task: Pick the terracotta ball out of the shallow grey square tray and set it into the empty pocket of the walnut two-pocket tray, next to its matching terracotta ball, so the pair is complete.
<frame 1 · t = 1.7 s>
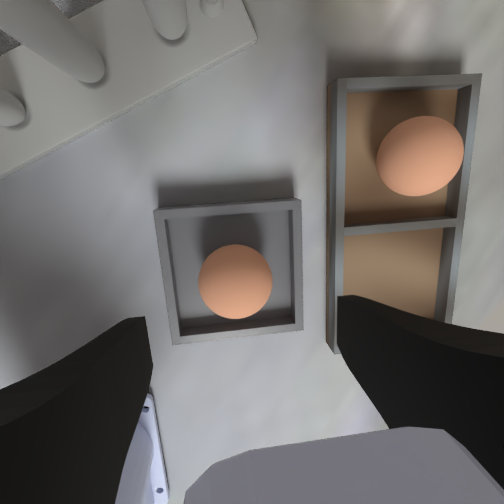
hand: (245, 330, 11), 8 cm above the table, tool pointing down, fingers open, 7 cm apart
pair tray: (387, 223, 19), on the table
shallow grey square tray: (233, 267, 19), on the table
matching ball: (395, 159, 18), resting on pair tray
test tube rack: (24, 114, 16), on the table
terracotta ball: (233, 269, 18), resting on shallow grey square tray
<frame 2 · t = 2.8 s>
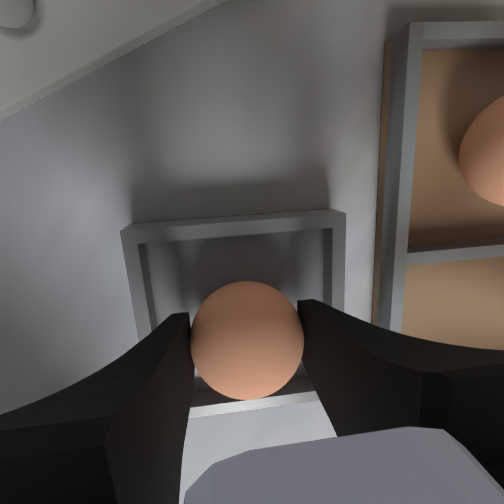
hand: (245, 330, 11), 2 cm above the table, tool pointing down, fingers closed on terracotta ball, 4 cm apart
pair tray: (459, 243, 14), on the table
shallow grey square tray: (241, 307, 13), on the table
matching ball: (480, 152, 12), resting on pair tray
terracotta ball: (242, 312, 13), resting on shallow grey square tray, touching gripper
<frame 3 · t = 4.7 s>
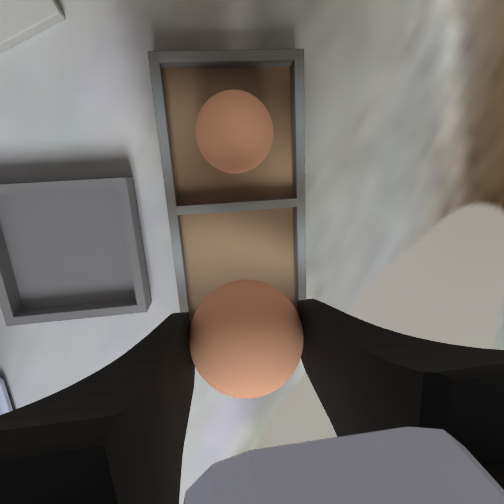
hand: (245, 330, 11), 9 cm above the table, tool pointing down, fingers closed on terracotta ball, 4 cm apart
pair tray: (236, 204, 19), on the table
shallow grey square tray: (75, 248, 19), on the table
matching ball: (232, 137, 18), resting on pair tray
terracotta ball: (241, 311, 13), point 8 cm above the table, touching gripper
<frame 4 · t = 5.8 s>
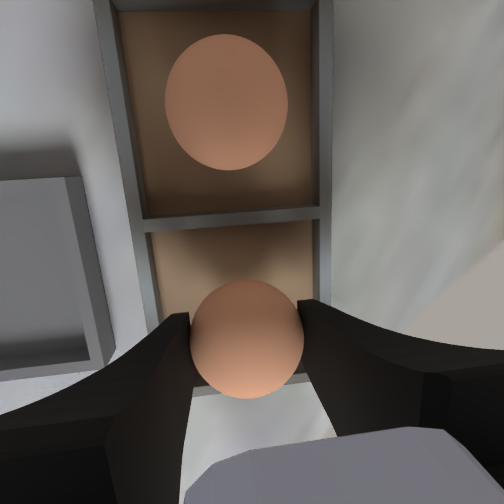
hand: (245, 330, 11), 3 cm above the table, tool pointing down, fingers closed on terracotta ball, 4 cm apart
pair tray: (232, 214, 14), on the table
shallow grey square tray: (2, 278, 13), on the table
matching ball: (225, 118, 12), resting on pair tray
terracotta ball: (242, 311, 13), point 2 cm above the table, touching gripper
when the fingers open (2 cm above the table, at t = 6.4 s): terracotta ball stays where it is, resting on pair tray.
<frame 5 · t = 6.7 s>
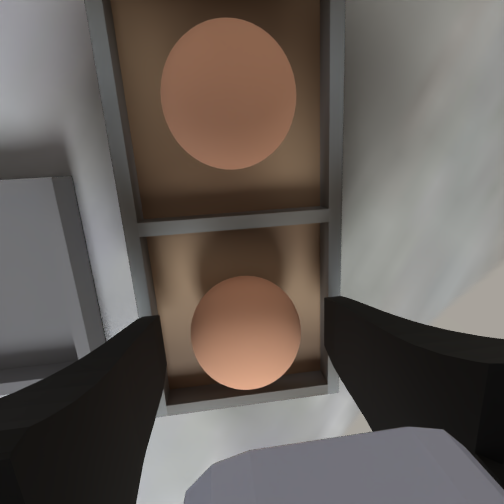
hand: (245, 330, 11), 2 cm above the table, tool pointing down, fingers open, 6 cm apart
pair tray: (234, 216, 13), on the table
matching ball: (227, 113, 11), resting on pair tray
terracotta ball: (241, 307, 13), resting on pair tray
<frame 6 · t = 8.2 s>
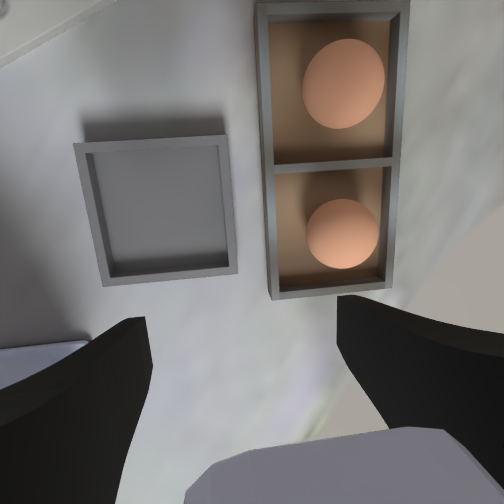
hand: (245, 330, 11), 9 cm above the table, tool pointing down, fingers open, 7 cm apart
pair tray: (325, 165, 19), on the table
shallow grey square tray: (166, 210, 19), on the table
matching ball: (328, 95, 17), resting on pair tray
terracotta ball: (327, 227, 20), point 1 cm above the table, touching pair tray
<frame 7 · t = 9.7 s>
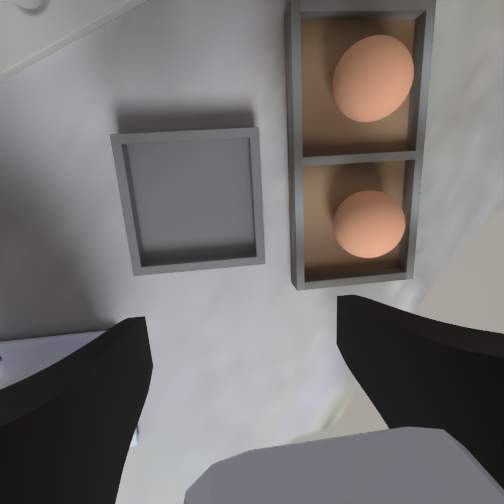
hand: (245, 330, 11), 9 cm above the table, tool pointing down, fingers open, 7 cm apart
pair tray: (349, 159, 20), on the table
shallow grey square tray: (195, 201, 19), on the table
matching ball: (354, 90, 18), resting on pair tray
terracotta ball: (351, 219, 20), point 1 cm above the table, touching pair tray
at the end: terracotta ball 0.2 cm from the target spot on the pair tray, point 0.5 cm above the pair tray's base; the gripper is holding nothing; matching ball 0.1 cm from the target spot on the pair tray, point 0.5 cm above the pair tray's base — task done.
